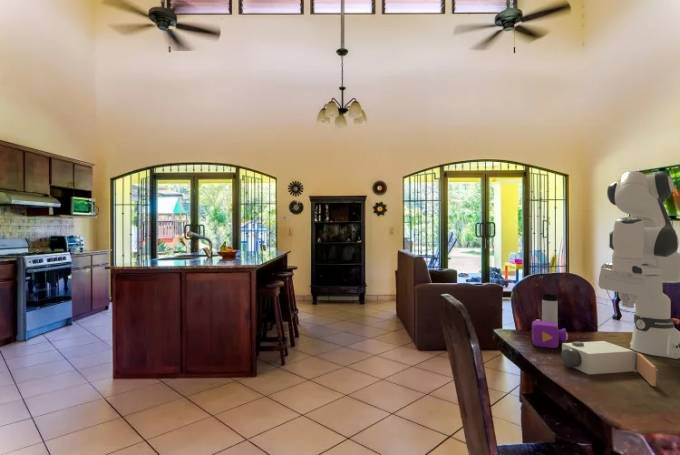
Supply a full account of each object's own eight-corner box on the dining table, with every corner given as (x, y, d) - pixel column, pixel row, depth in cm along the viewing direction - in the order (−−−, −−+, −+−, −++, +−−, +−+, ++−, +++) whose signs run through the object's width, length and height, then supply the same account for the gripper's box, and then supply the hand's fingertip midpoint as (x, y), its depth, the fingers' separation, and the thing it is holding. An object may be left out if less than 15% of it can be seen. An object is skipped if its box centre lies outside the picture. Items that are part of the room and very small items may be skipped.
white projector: (603, 359, 145) (603, 338, 145) (633, 371, 133) (633, 348, 133) (554, 362, 141) (555, 341, 141) (581, 375, 129) (581, 351, 129)
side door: (633, 368, 134) (633, 351, 134) (641, 369, 133) (642, 352, 133) (649, 385, 119) (649, 366, 119) (658, 386, 118) (659, 367, 119)
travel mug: (539, 336, 176) (539, 292, 176) (544, 333, 180) (544, 291, 180) (554, 339, 171) (554, 294, 171) (559, 336, 176) (559, 292, 176)
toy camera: (571, 350, 156) (571, 326, 156) (535, 348, 158) (535, 324, 158) (562, 342, 166) (562, 319, 166) (528, 340, 169) (528, 318, 169)
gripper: (594, 262, 138) (593, 300, 138) (650, 270, 118) (649, 315, 118) (608, 262, 139) (608, 299, 140) (666, 269, 119) (666, 313, 120)
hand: (627, 307), depth 129 cm, fingers closed
